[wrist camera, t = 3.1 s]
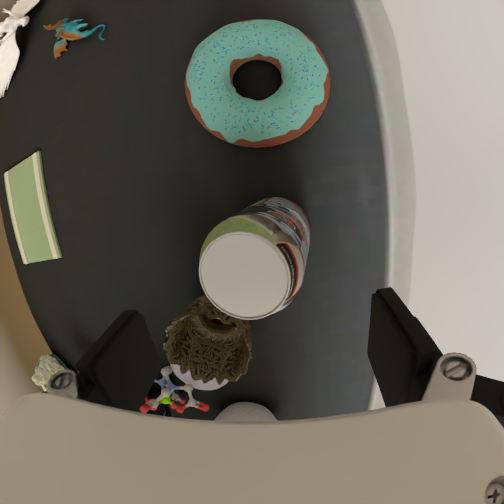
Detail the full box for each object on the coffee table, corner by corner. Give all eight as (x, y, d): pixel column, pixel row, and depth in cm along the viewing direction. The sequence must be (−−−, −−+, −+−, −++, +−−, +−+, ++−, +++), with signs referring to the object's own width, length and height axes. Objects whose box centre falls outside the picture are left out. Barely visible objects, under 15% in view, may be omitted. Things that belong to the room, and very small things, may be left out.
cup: (246, 342, 29) (236, 395, 22) (183, 321, 29) (158, 368, 22) (268, 287, 27) (264, 336, 19) (198, 263, 27) (169, 303, 19)
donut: (292, 16, 18) (294, -4, 14) (347, 122, 21) (360, 116, 17) (175, 62, 20) (158, 49, 16) (222, 169, 23) (212, 171, 20)
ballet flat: (127, 436, 43) (114, 464, 35) (40, 356, 37) (18, 380, 30) (149, 434, 40) (136, 465, 33) (52, 344, 34) (26, 371, 27)
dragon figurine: (115, -10, 16) (54, 6, 13) (102, 18, 15) (34, 39, 13) (117, 26, 22) (63, 39, 20) (108, 59, 21) (49, 74, 19)
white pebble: (160, 345, 28) (165, 335, 30) (173, 390, 31) (177, 381, 33) (228, 352, 28) (231, 342, 29) (233, 398, 30) (235, 388, 32)
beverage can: (307, 259, 25) (326, 336, 14) (230, 258, 26) (195, 332, 15) (310, 192, 23) (338, 224, 12) (227, 192, 24) (182, 223, 13)
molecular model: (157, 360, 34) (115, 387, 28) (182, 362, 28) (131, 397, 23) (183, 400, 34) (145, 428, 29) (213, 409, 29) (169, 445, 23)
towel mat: (5, 173, 25) (3, 174, 25) (40, 150, 24) (38, 150, 23) (25, 263, 30) (23, 264, 29) (62, 256, 28) (60, 257, 28)
